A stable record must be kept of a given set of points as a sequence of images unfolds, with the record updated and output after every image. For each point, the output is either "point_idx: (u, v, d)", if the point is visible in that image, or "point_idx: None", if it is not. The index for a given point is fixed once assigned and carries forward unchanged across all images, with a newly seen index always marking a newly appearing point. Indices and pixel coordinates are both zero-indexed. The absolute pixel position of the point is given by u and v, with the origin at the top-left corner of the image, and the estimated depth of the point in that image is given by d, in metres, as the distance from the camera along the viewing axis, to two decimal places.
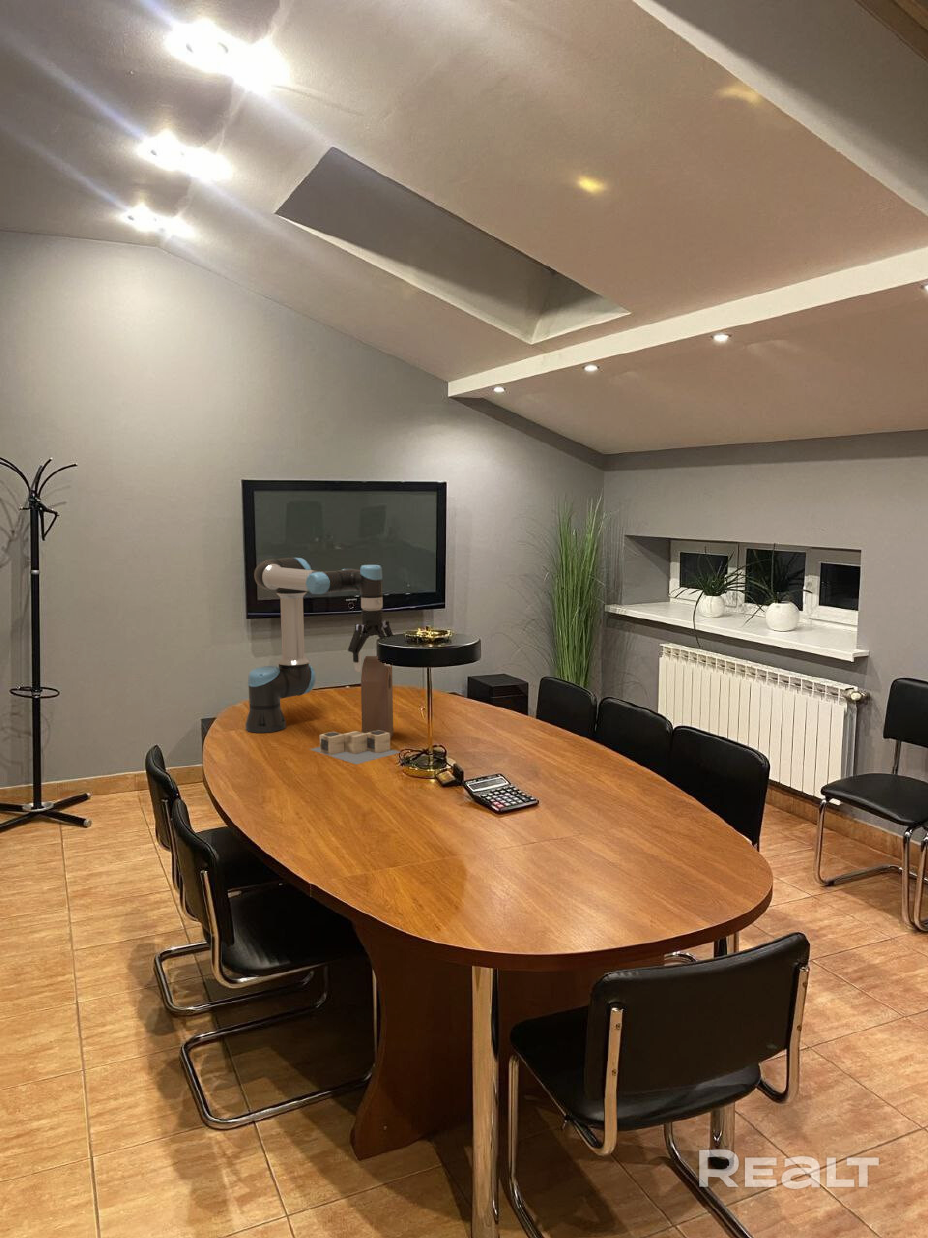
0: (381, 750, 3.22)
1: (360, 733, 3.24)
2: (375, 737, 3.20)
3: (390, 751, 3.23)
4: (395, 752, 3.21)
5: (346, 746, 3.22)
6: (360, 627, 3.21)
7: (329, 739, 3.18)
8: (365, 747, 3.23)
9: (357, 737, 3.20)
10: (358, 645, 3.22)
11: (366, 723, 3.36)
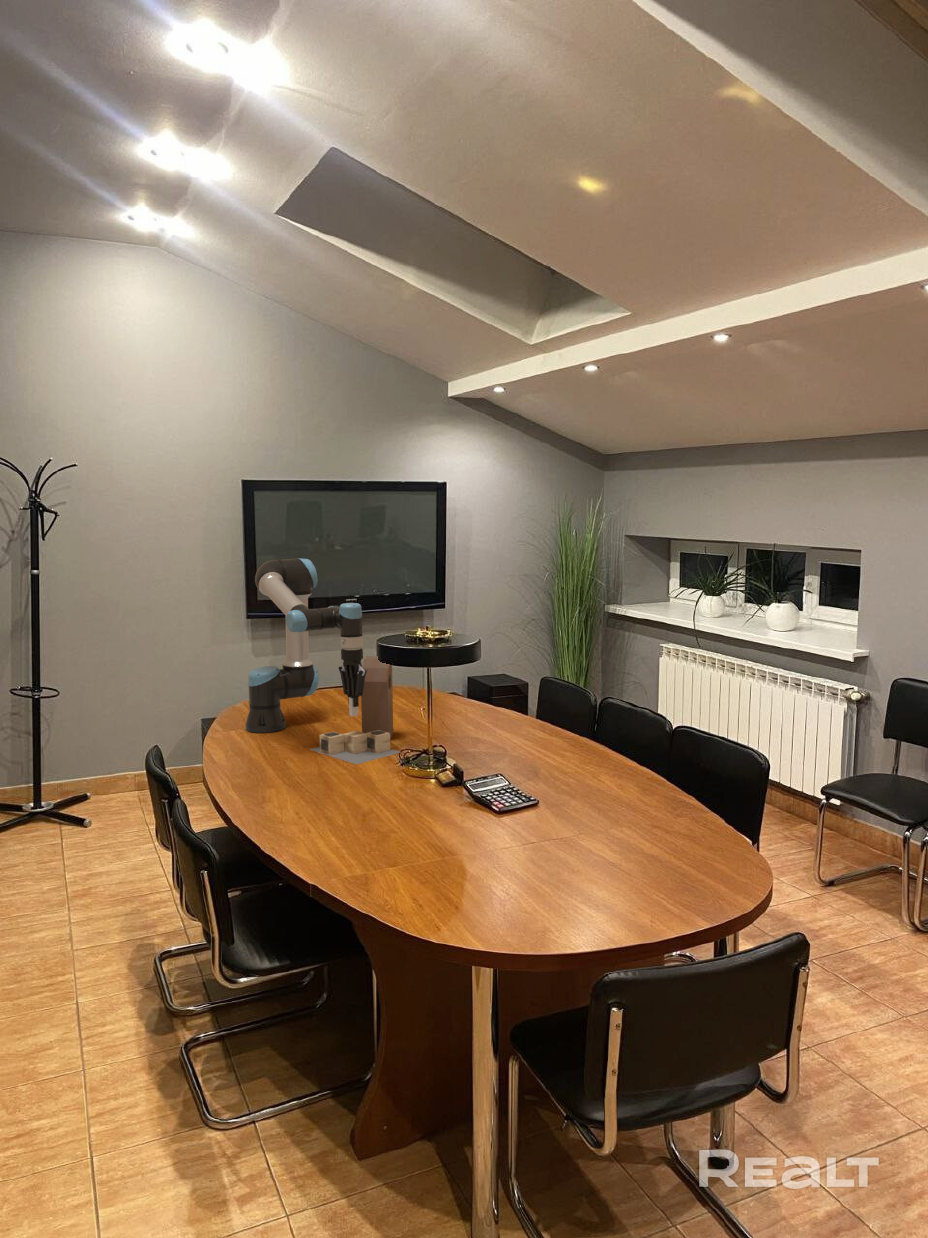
0: (381, 750, 3.22)
1: (360, 733, 3.24)
2: (375, 737, 3.20)
3: (390, 751, 3.23)
4: (395, 752, 3.21)
5: (346, 746, 3.22)
6: (339, 669, 3.23)
7: (329, 739, 3.18)
8: (365, 747, 3.23)
9: (357, 737, 3.20)
10: None
11: (366, 723, 3.36)
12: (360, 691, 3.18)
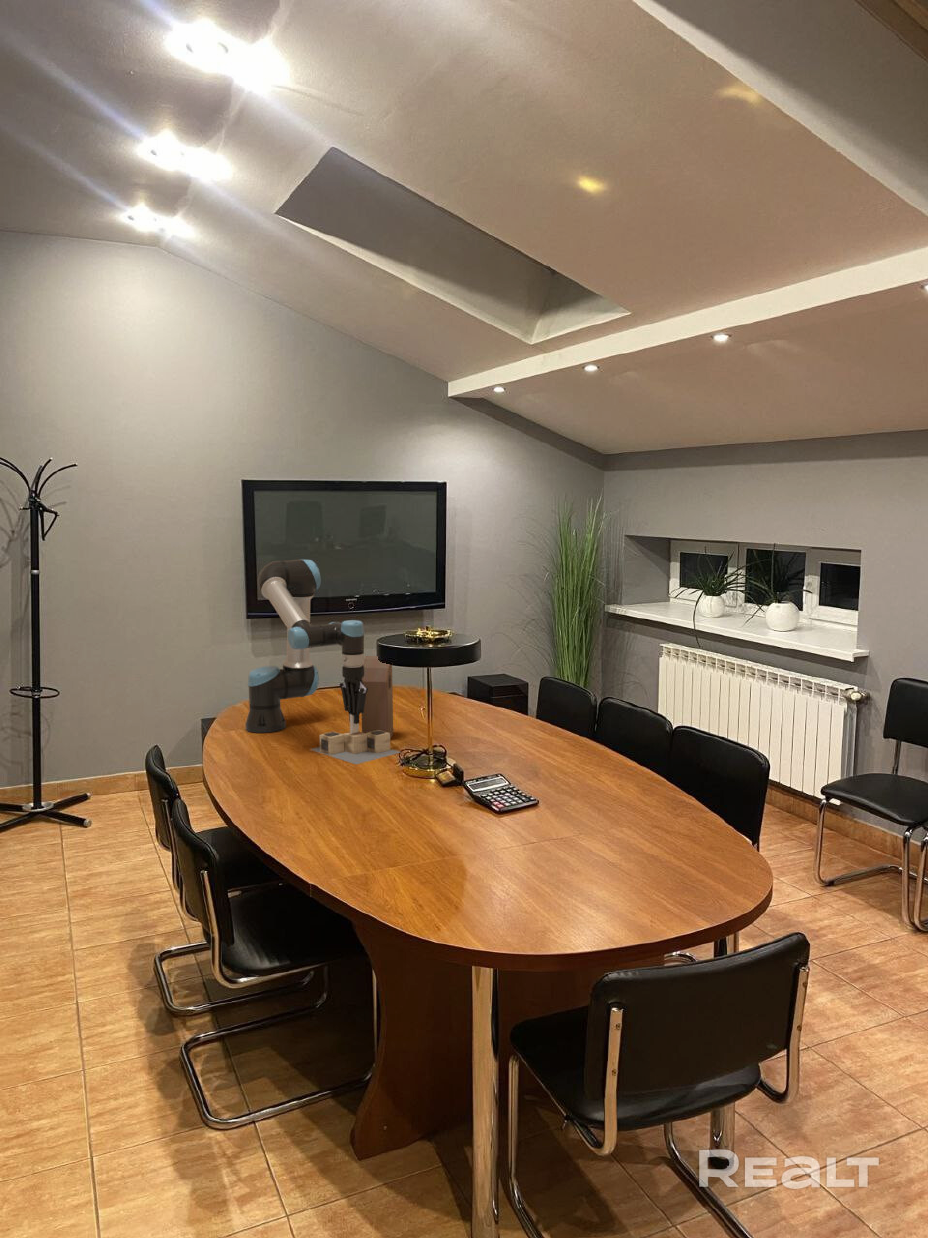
0: (381, 750, 3.22)
1: (360, 733, 3.24)
2: (375, 737, 3.20)
3: (390, 751, 3.23)
4: (395, 752, 3.21)
5: (346, 746, 3.22)
6: (340, 685, 3.24)
7: (329, 739, 3.18)
8: (365, 747, 3.23)
9: (357, 737, 3.20)
10: None
11: (366, 723, 3.36)
12: (361, 708, 3.19)
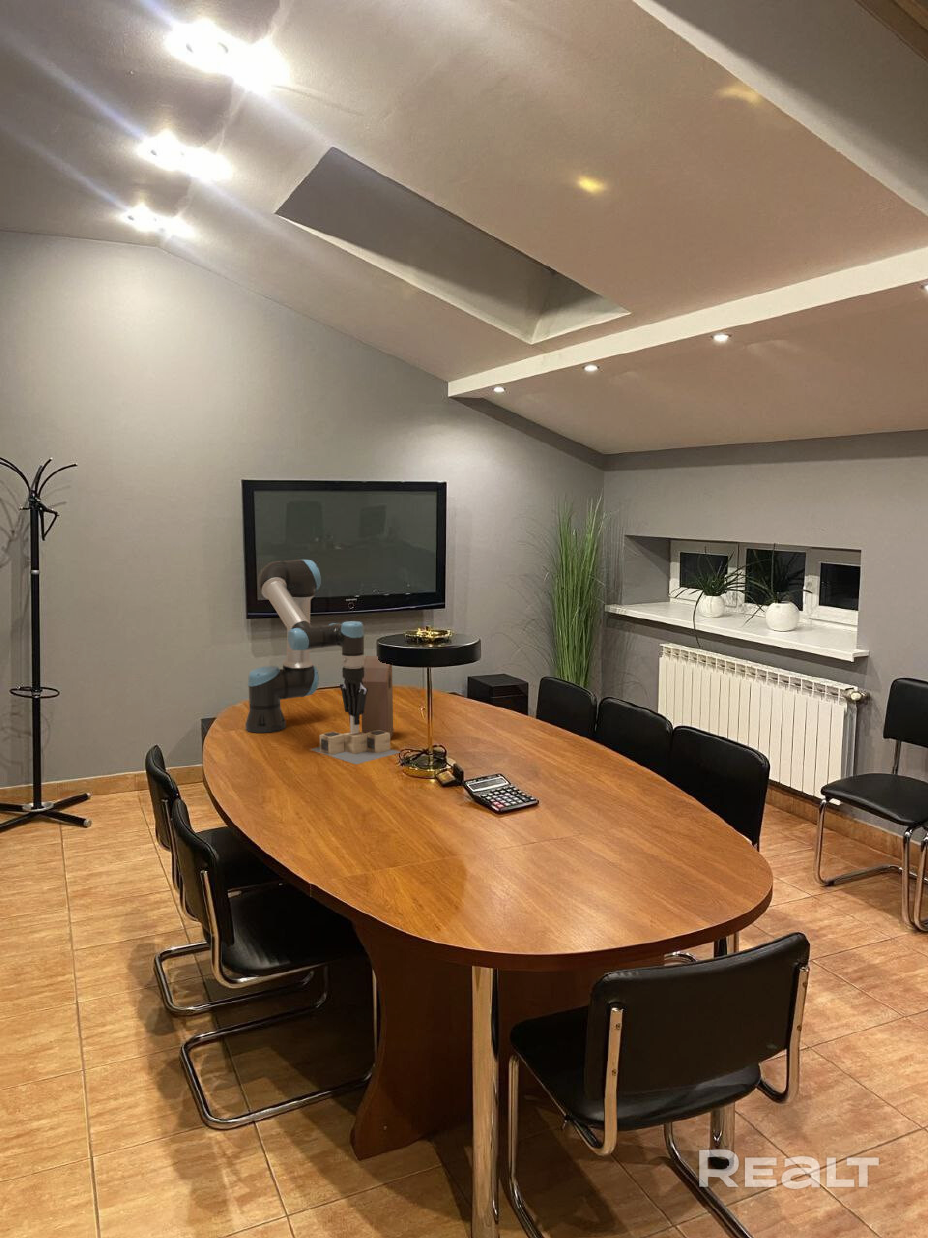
0: (381, 750, 3.22)
1: (360, 733, 3.24)
2: (375, 737, 3.20)
3: (390, 751, 3.23)
4: (395, 752, 3.21)
5: (346, 746, 3.22)
6: (340, 686, 3.24)
7: (329, 739, 3.18)
8: (365, 747, 3.23)
9: (357, 737, 3.20)
10: None
11: (366, 723, 3.36)
12: (361, 709, 3.19)
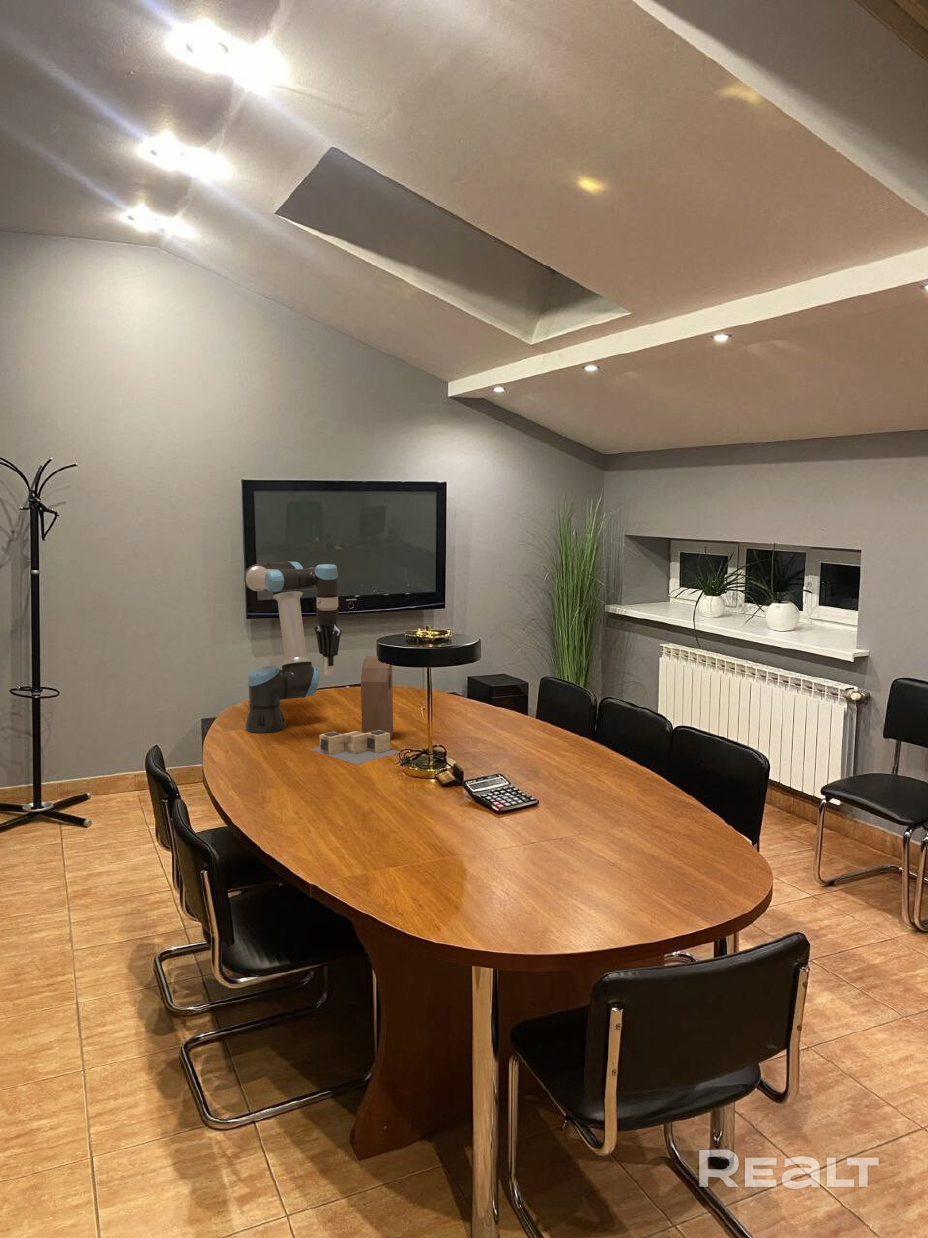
0: (381, 750, 3.22)
1: (360, 733, 3.24)
2: (375, 737, 3.20)
3: (390, 751, 3.23)
4: (395, 752, 3.21)
5: (346, 746, 3.22)
6: (315, 629, 3.29)
7: (329, 739, 3.18)
8: (365, 747, 3.23)
9: (357, 737, 3.20)
10: None
11: (366, 723, 3.36)
12: (335, 651, 3.25)
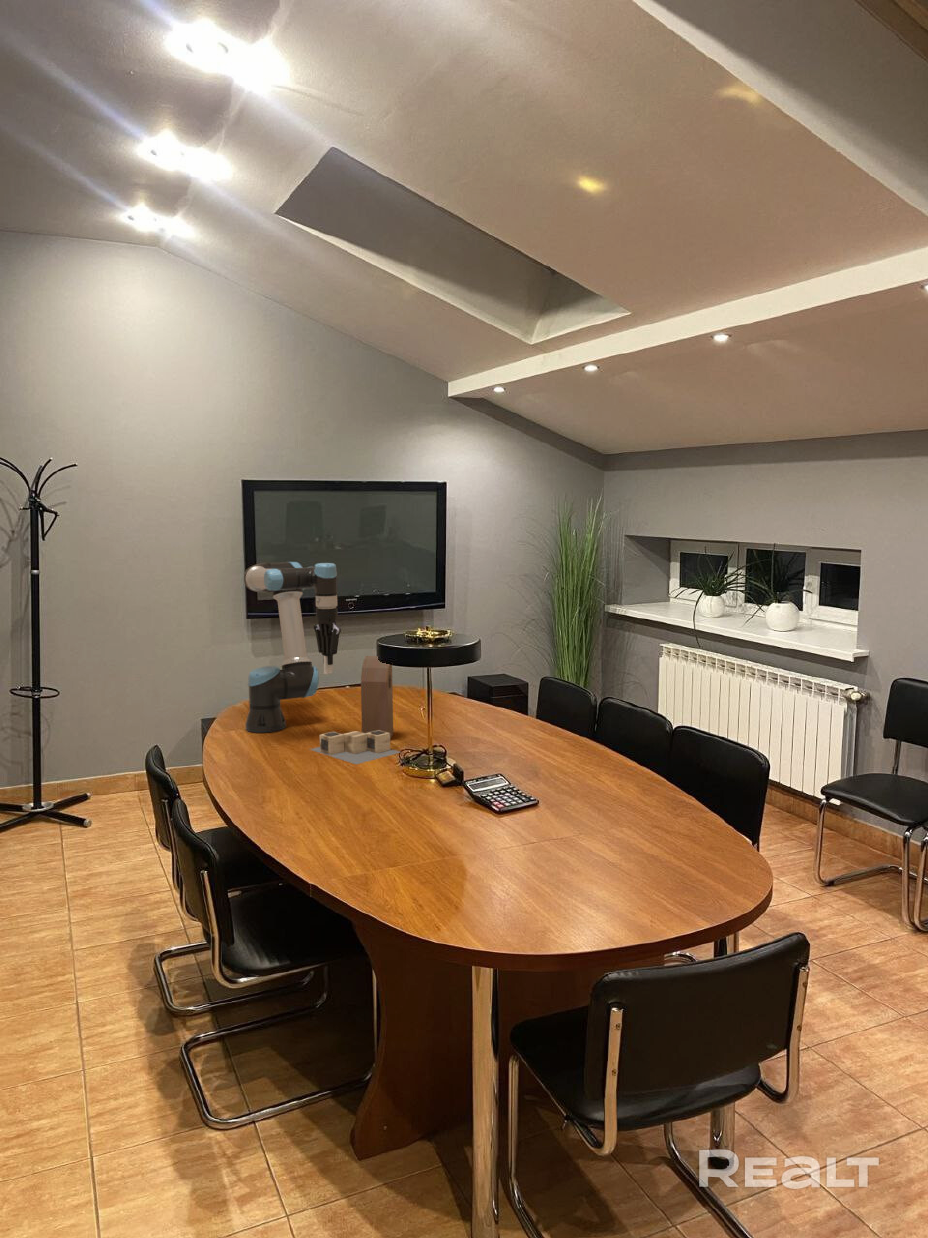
0: (381, 750, 3.22)
1: (360, 733, 3.24)
2: (375, 737, 3.20)
3: (390, 751, 3.23)
4: (395, 752, 3.21)
5: (346, 746, 3.22)
6: (314, 628, 3.29)
7: (329, 739, 3.18)
8: (365, 747, 3.23)
9: (357, 737, 3.20)
10: None
11: (366, 723, 3.36)
12: (334, 649, 3.25)
